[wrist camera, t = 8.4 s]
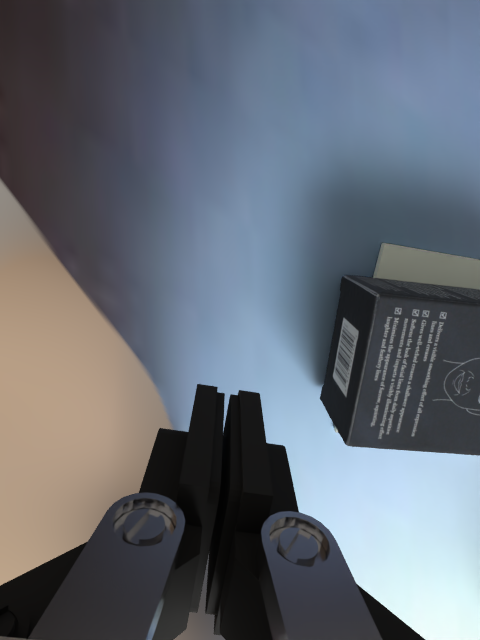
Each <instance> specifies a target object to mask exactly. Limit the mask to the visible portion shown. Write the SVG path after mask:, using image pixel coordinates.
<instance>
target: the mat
mask: <svg viewBox="0 0 480 640" xmlns="http://www.w3.org/2000/svg"><path fill="white" fill-rule="evenodd" d="M373 278H380V279H389V280H398V281H406V282H417V283H425V284H435V285H443V286H453V287H462V288H472V289H479V290H480V260H479V259H473V258H468V257H462V256H456V255H450V254H445V253H439V252H433V251H428V250H422V249H416V248H410V247H405V246H399V245H393V244H388V243H382V244H381V248H380V252H379V256H378V260H377V264H376V268H375V271H374V275H373ZM334 430H335V432H338V430H337V429H336V427H334Z"/></svg>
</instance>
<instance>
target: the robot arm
mask: <svg viewBox="0 0 480 640" xmlns="http://www.w3.org/2000/svg"><path fill="white" fill-rule="evenodd" d="M224 396H225V393H218V392H217V387H214V386H208V385H201V384H197V389H196V395H195V400H194V405H193V411H192V416H191V421H190V427H189V432H184V431H177V430H170V429H163V428H160V429H159V431H158V434H157V437H156V440H155V443H154V446H153V450H152V453H151V456H150V459H149V463H148V466H147V469H146V472H145V475H144V478H143V481H142V484H141V488H140V491H139V493H136V494H132V495H129V496H126V497H123V498H121V499H120V500H118V501H117V502H115V503H114V504H113V505H112V506H111V507H110V508H109V510H107V512H106V514H105V515H104V517H103V519H102V520H101V522H100V523H99V525H98V526H97V528H96V530H95V532H94V533H93V534H92V536H91V538H90V539H89V541H88V542H86V543H84V544H82V545H80V546H78V547H76V548H74V549H72V550H70V551H68V552H66V553H64V554H62V555H60V556H58V557H56V558H54V559H52V560H50V561H48V562H46V563H44V564H42V565H40V566H38V567H36V568H34V569H32V570H30V571H28V572H26V573H24V574H22V575H21V576H18V577H17V578H15V579H13V580H11V581H9V582H7V583H5V584H3V585H1V586H0V640H173V639H175V638H176V637H177V636H178V635H179V634H181V633H182V632H183V631H184V630H185V629H186V627H187V622H188V616H189V612H196V613H197V612H198V607H199V601H200V596H201V591H202V586H203V580H204V575H205V570H206V565H207V559H208V554H209V563H208V579H207V593H206V610H205V613H206V614H214V615H215V621H214V634H216V635H222V636H223V637H224V638H225V639H226V640H425V639H424V638H422V637H421V636H420V635H419V634H418V633H416V632H415V631H414V630H413V629H411V628H410V627H409V626H408V625H406V624H405V623H404V622H403V621H402V620H400V619H399V618H398V617H397V616H395V615H394V614H393V613H392V612H390V611H389V610H388V609H387V608H386V607H384V606H383V605H382V604H381V603H379V602H378V601H377V600H376V599H374V598H373V597H372V596H371V595H369V594H368V593H367V592H366V591H365V590H363V589H362V588H361V587H360V586H358V585H357V584H356V582H355V580H354V578H353V576H352V574H351V572H350V570H349V567H348V565H347V563H346V561H345V559H344V557H343V555H342V552H341V550H340V548H339V546H338V544H337V542H336V540H335V538H334V537H333V535H332V534H331V532H330V531H329V530H328V529H327V528H326V527H325V526H324V525H323V524H322V523H321V522H319V521H317V520H316V519H314V518H312V517H311V516H308V515H305V514H303V513H300V512H299V511H298V506H297V501H296V496H295V492H294V487H293V482H292V477H291V472H290V467H289V463H288V458H287V453H286V449H285V446H283V445H276V444H269V443H266V437H265V429H264V422H263V415H262V407H261V400H260V394H259V393H255V392H248V391H241V390H239V392H238V395H232V394H231V395H230V399H229V405H228V410H227V416H226V421H225V427H224V432H223V420H224Z"/></svg>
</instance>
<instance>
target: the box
mask: <svg viewBox="0 0 480 640" xmlns="http://www.w3.org/2000/svg"><path fill="white" fill-rule="evenodd" d="M340 291H341V293H340V299H339V305H338V310H337V316H336V321H335V327H334V332H333V338H332V343H331V349H330V354H329V360H328V365H327V371H326V377H325V382H324V385H323V387H322V391H321V396H320V400H321V401H322V402H323V404H324V406H325V408H326V410H327V412H328V414H329V416H330V418H331V419H332V421H333V424H334V425H335V427H336V429H337V430H338V433H339V434H340V435H341V437H342V438H343V441H344V443H345V444H346V445H348V446H352V447H368V448H379V449H396V450H409V451H423V452H437V453H454V454H465V455H480V290H479V289H472V288H462V287H453V286H443V285H435V284H425V283H417V282H406V281H398V280H389V279H380V278H372V277H363V276H353V275H344V276H343V277H342V280H341V287H340Z"/></svg>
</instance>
